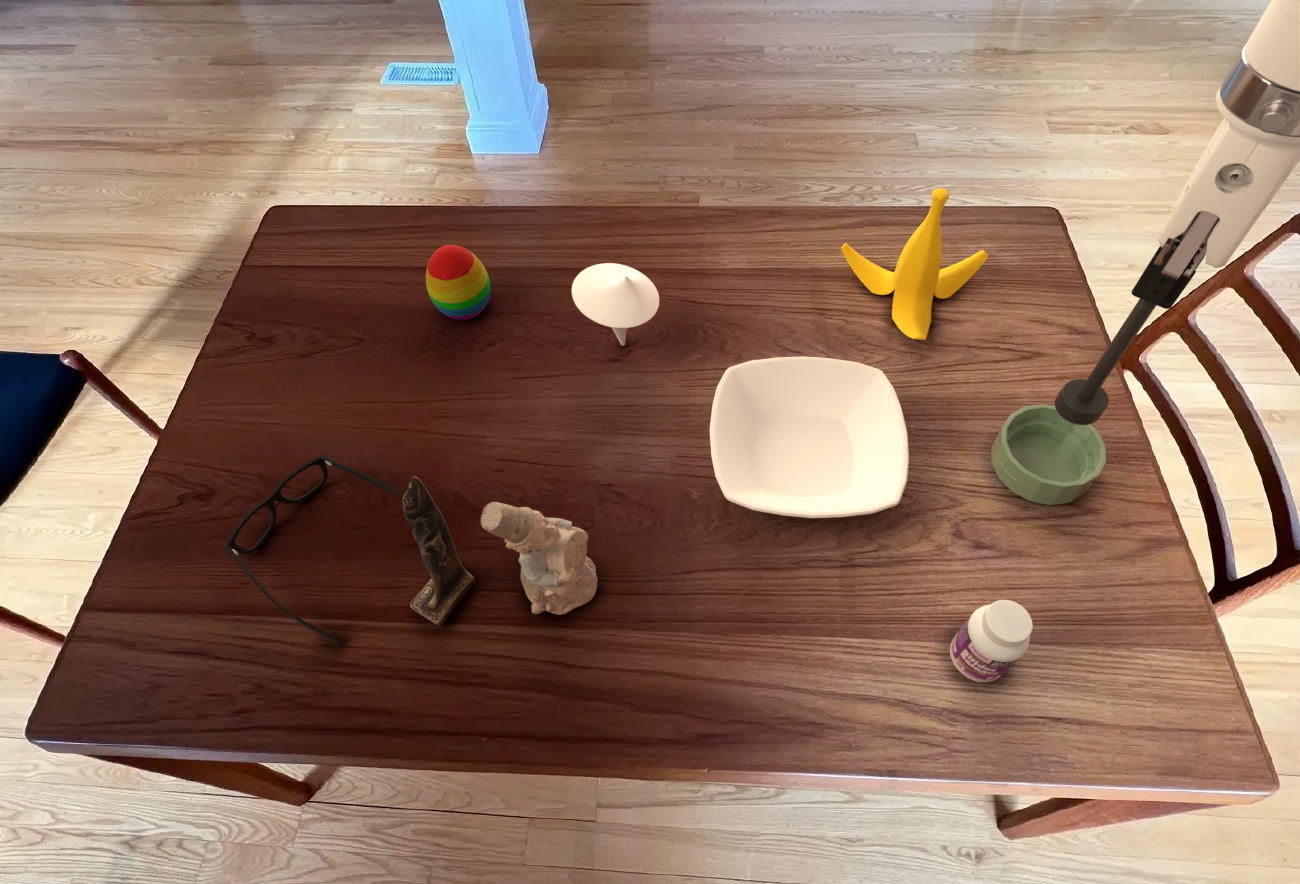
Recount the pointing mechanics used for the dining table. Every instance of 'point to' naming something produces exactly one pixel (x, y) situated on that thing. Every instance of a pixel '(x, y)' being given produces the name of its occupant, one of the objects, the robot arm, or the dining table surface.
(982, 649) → the pill bottle
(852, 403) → the bowl
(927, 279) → the banana peel
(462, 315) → the decorative egg
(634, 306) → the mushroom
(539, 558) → the figurine
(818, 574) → the dining table surface
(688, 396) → the dining table surface
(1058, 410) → the disc-footed rod
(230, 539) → the glasses
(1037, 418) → the green round dish
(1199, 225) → the robot arm
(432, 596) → the statue
